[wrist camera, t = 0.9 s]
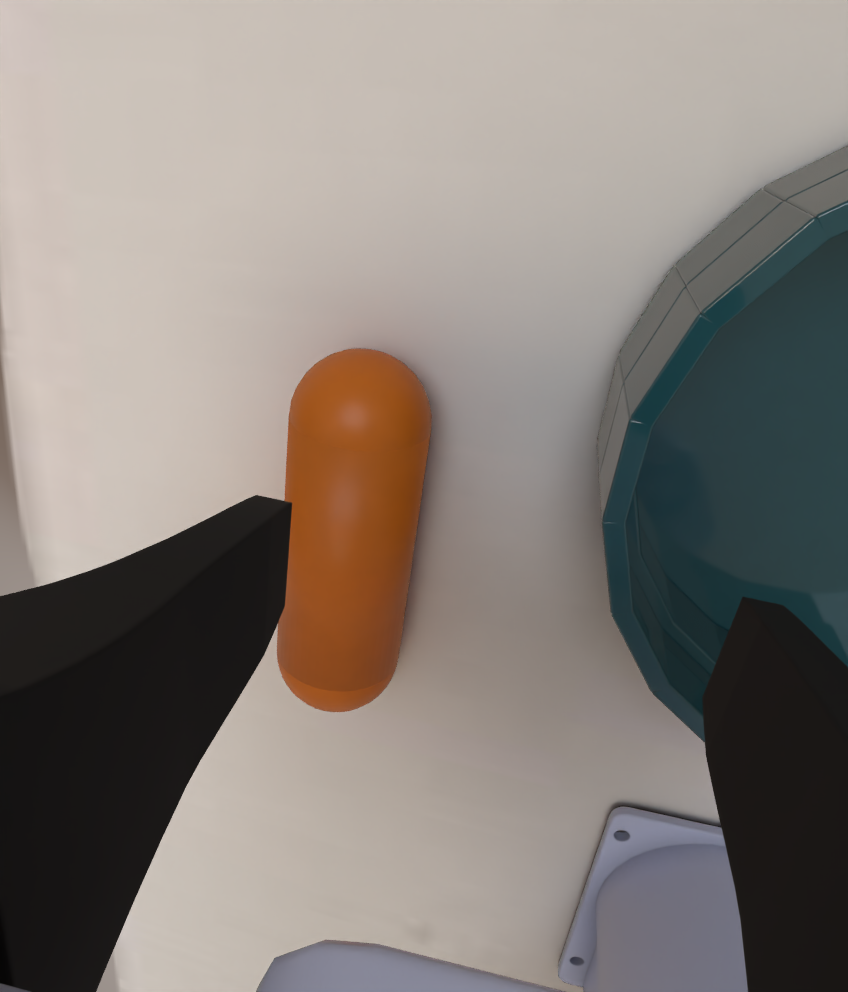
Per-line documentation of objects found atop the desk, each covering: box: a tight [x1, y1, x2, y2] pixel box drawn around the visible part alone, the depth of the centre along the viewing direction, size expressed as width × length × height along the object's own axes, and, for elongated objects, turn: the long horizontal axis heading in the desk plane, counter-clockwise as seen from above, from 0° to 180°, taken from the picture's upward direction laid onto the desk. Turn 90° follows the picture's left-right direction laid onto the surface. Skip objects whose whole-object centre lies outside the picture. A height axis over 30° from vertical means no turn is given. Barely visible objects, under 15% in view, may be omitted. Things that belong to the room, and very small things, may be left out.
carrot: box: [277, 349, 432, 712], centre depth 22 cm, size 11×4×4 cm, turn 173°
